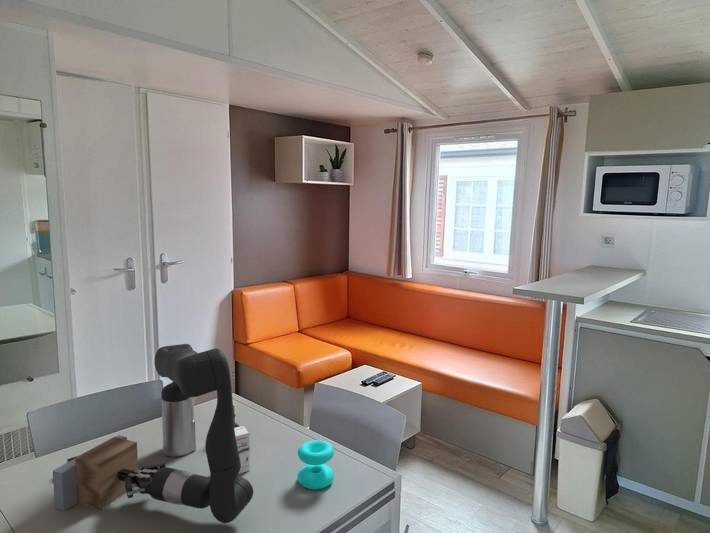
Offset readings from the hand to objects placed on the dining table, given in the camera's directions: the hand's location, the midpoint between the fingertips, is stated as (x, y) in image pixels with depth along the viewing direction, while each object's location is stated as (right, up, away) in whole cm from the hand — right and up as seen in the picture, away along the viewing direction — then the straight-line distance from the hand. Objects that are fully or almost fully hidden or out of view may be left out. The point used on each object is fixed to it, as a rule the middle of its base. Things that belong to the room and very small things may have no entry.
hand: (120, 474), depth 122 cm
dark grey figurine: (+20, -3, +33) cm, 39 cm away
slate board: (-9, -5, +4) cm, 11 cm away
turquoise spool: (+50, -6, +9) cm, 51 cm away
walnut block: (-4, -6, +2) cm, 7 cm away
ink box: (+26, -5, +13) cm, 29 cm away
